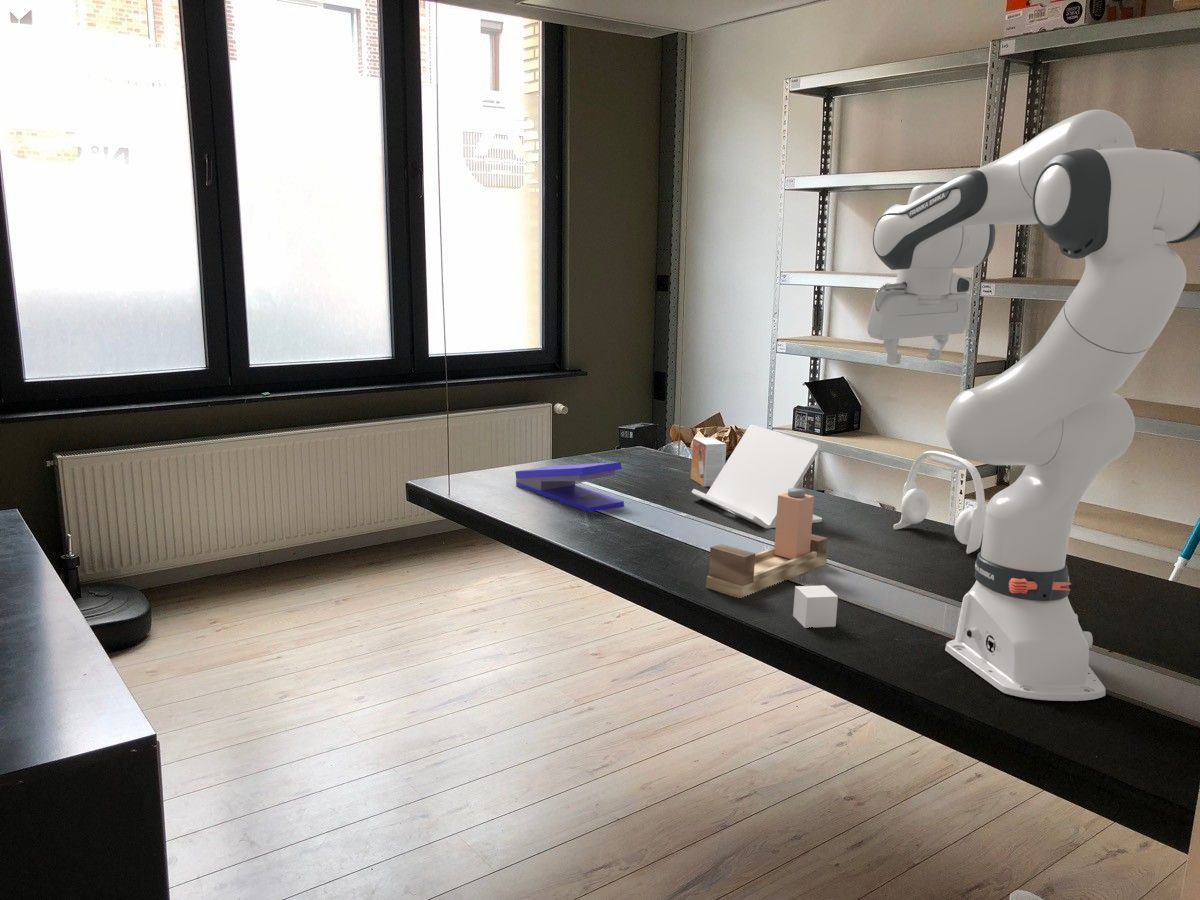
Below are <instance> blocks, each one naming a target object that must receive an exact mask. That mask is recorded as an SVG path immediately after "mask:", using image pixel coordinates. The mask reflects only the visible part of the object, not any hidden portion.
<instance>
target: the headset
mask: <svg viewBox="0 0 1200 900" xmlns="http://www.w3.org/2000/svg"><path fill="white" fill-rule="evenodd" d="M927 458H928V459H929V460H930V461H932V462H935V463H939V464H943V465H946V466H950V467H952V468H955V469H957V470H961V471H965V470H967V471H968V472H969V473H970V476H971V477H972V481H973V484H974V485H973V486H974V489H975V500H976V503H975V504H976V506H975V507H972V506H970V507H967V508H965V509H964V510H962V511H961V512H960V514H959V515H958V516H957V518H956V519H955V522H954V523H955V524H954V528H953V529H954V535H955V538H956V539H957V541H958V542H959V543H960V544H962V545H966V549H965V550H966V551H965V552H966V554H967V555H968V554H971V553H973V552H975V551H977V550H978V549H980V547H981V545H982V538H983V530H984V521H985V513H986V507H987V505H986V501H985V499H986V497H985V490H984V484H983V481H982V476H981V475H980V472H979V471H978V468H977V467H976V466H975V465H974V464H973V463H971V462H970V460H967V459H963V458H961V457H960V456H958V455H955V454H950V453H946V452H943V451H939V450H928V451H924V452H923V453H921V454H919V455H918V456H917V457H916V459H915V460H914V461H913V463H912V466H911V468H910V470H909V473H908V476H907V479H906V481H905V483H904V485H903V489H902V500H901V506H900V511H901V516H900V521H899V522H898V523H895V524H893V530H899V529H904V528H906V527H908V526H910V525H913V524H920V523H922V522H923V520H925V518H926V517H927V515H928V513H929V509H930V498H929V495H928V494H927V493H926V491H925V490H924V489H921V488H919V487H917V484H916V483H915V481H916V477H917V474H918V471H919V469H920V466H921V464H922V463H923V462H924V460H925V459H927Z"/></svg>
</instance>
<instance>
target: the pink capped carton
mask: <svg viewBox="0 0 1200 900" xmlns="http://www.w3.org/2000/svg"><path fill="white" fill-rule="evenodd" d="M814 504H815V495H810V494H808V493H807V494H806V490H805V489H802V488H798V487H797V488H790V489H788V493H784V494H781V495H778V503H777V517H776V527H775V535H774V554H775V555H779V556H782V557H786V558H789V559H794V558H797V557H799V556H802V555H805V554H807V553H810V544H811V534H812V530H813V529H812V527H813V523H812V518H813V515H814Z"/></svg>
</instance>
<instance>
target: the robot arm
mask: <svg viewBox="0 0 1200 900" xmlns="http://www.w3.org/2000/svg"><path fill="white" fill-rule="evenodd" d="M1134 136H1135V135H1134V133H1133V131H1132V129H1131V127H1130V125H1129V124H1128V123H1127V122H1126V120H1125V119H1123V118H1122V117H1121V116H1120V115H1118V114H1117V113H1115V112H1112V111H1109V110H1107V109H1090V110H1085V111H1083V112H1079V113H1077V114H1075V115H1073V116H1070V117H1068V118H1065V119H1063V120H1061V121H1060V122H1058V123H1056V124H1054V125H1052V126H1050V127H1048V128H1046V129H1045V130H1043V131H1042V132H1040V133H1039V134H1038V135H1036V136H1034V137H1033V138H1032V139H1030V140H1028V141H1027V142H1026V143H1024V144H1022V145H1021V146H1019V147H1018V148H1015V149H1014V150H1013V151H1010V152H1009V153H1006V154H1005V155H1003V156H1002V157H999V158H998V159H996V160H993V161H992V162H989V163H987V164H985V165H983V166H980V167H979V168H976V169H975V170H972V171H970V172H967V173H965V174H962V175H960V176H958V177H956V178H953V179H952V180H949V181H948V182H945V181H940V182H939V181H937V182H936V181H934V182H926V183H921V184H918V185H916V186H914V187H913V188H912V189H911V192H910V194H909V197H908V201H907V204H903V203H901V204H900V203H895V204H894V203H893V205H891V206H890V207H889V208H887V209H886V210H885V212H883V213H882V214H881V216H880V217H879V218H878V220H877V222H876V224H875V225H874V230H873V233H872V234H873V235H872V247H873V250H874V252H875V254H876V256H877V257H878V259H879V260H880V261H881V262H882V263H883V264H884V265H885V266H886V267H888V269H890V270H892V271H897V274H896V281H895V283H889V282H888V283H887V282H886V283H884V284H882V286H880V288H878V290H876V291H875V294H874V300H873V302H872V305H871V309H870V313H869V317H868V318H869V319H868V324H867V334H868V336H869V337H870V338H872V339H876V340H880V341H883V347H884V348H885V351H886V354H887V356H886V363H887V364H889V365H894V366H895V365H899V364H901V359H902V354H901V353H899V352H898V350H897V346H898V345H899V342H900V339H912V338H914V339H915V338H924V337H933V340H934V341H933V343H932V346H931V348H927V353H926V354H927V355H926V359H927V360H929V361H933V362H934V361H939V360H941V357H942V351H943V349H944V348H945V347H946V344H947V343H948V341H949V336H950V335H958V334H963V332H964V331H965V330H966V329H967V327H968V323H969V316H970V310H971V297H970V295H969V293H971V292H972V290H973V285H974V282H973V280H972V279H970V278H968V277H965V276H962V275H960V274H958V273H956V272H954V269H970V268H974V267H975V268H977V267H978V266H980V265H982V264H983V263H984V262H985V261H986V260H987V259H988V257H989V256H990V254H991V253H992V251H993V248H994V246H995V240H996V225H1012V226H1013V225H1015V226H1016V225H1017V226H1018V225H1019V226H1020V225H1026V226H1027V225H1039V226H1040V227H1041V229H1042V231H1043V232H1044V234H1045V235H1046V236H1047V237H1048V239H1050V240H1051V241H1053V243H1055V244H1057V245H1058V248H1059V250H1060V253H1061V254H1062V256H1065V257H1067V258H1070V259H1072V260H1078V259H1079V260H1080V259H1083V258H1084V260H1085V261H1084V262H1085V263H1084V264H1085V265H1084V267H1085V268H1084V271H1083V274H1082V276H1081V278H1080V280H1079V282H1078V283H1077V285H1076V286H1075V288H1074V289H1073V291H1072V292H1071V294H1070V295H1069V296H1068V298H1067V299H1066V302H1065V303H1064V305H1063V306H1062V307H1061V309H1060V311H1059V312H1058V314H1057V316H1055V319H1053V321H1052V323H1051V325H1050V326H1049V327H1048V329H1047V330H1046V332H1045V334H1043V336H1042V338H1041V339H1039V340H1040V341H1038V342H1037V344H1036V345H1035V346H1034V347H1033V348H1032V349H1031V350H1030V351H1029V352H1028V353H1027V354H1025V355H1024V356H1023V357H1022V358H1021V359H1019V360H1018V361H1017V362H1015V364H1013V365H1011V366H1010V367H1009V368H1008V369H1006V370H1004V371H1003V372H1002V373H1000V374H998V375H997V376H995V377H994V378H992V379H990V380H988V381H987V382H984V383H982V384H980V385H977V386H974V387H972V388H969V389H966V390H964V391H961V392H960V393H959V394H958V395H957V396H956V397H955V398H954V399H953V401H952V402H951V404H950V406H949V408H948V410H947V413H946V416H945V422H944V424H945V428H944V429H945V435H946V438H947V440H948V443H949V445H950V447H951V449H952V450H953V451H954V453H955V454H956V456H957V457H960V458H963V459H965V460H967V461H971V462H972V461H973V462H977V463H980V464H987V465H990V466H991V465H992V466H1025V467H1024V469H1023V471H1022V473H1021V474H1020V475H1019V476H1018V478H1017V479H1016V480H1015V481H1014V482H1013V483H1012V484H1011V485H1009V486H1007V487H1005V488H1004V489H1002V490H1000V491H998V492H996V493H995V494H994V495H993V496H992V497H991V498H990V500H989V501H988V503H987V505H986V513H985V521H984V530H983V535H982V540H981V546H980V547H981V548H980V549H981V550H980V551H979V552H978V553H977V557H976V560H975V564H974V578H975V580H976V581H975V583H974V584H973V586H972V587H971V588H970V590H968V591H967V592H966V593H965V595H964V596H963V597H962V602H961V608H960V611H959V618H958V623H957V627H956V631H955V638H954V639H952V640H948V641H947V642H946V643H945V649H944V650H945V652H947V653H948V654H950V656H952V657H953V658H955V659H956V660H957V661H959V662H961V663H962V664H963V665H965V666H966V667H967V668H968V669H970V670H971V671H973V672H974V673H975V674H976V675H978V676H980V677H981V678H982V679H984V681H986V682H988V683H989V684H990V685H992V686H993V687H994V688H996V689H997V690H999V691H1000V692H1002V693H1003V694H1006V695H1009V696H1012V697H1013V696H1015V697H1019V698H1024V699H1029V700H1031V699H1032V700H1040V701H1054V702H1055V701H1056V702H1057V701H1058V702H1059V701H1060V702H1061V701H1062V702H1079V701H1080V702H1081V701H1091V700H1096V699H1100V698H1103V697H1105V696H1106V687H1105V686H1104V684H1103V683H1102V682H1101V680H1100V679H1099V677H1098V676H1097V675H1096V674H1095V672H1094V671H1093V669H1092V668H1091V666H1090V665H1089V664H1090V663H1089V661H1090V649H1091V648H1092V646H1093V642H1094V641H1093V640H1094V639H1093V638H1094V637H1093V635H1092V632H1090V631H1085V630H1083V629H1082V627H1081V625H1080V623H1079V616H1078V614H1077V613H1075V611H1074V609H1073V607H1072V604H1071V603H1070V599H1069V597H1068V596H1069V595H1070V591H1071V588H1070V585H1072V582H1070V575H1069V570H1068V568H1069V567H1068V565H1067V564H1066V559H1067V553H1068V546H1069V542H1070V541H1069V540H1070V536H1071V530H1072V526H1073V520H1074V516H1075V513H1076V510H1077V508H1078V506H1079V503H1080V501H1081V500H1082V497H1083V496H1084V495H1085V493H1086V491H1087V489H1088V488H1089V487H1090V485H1091V484H1092V483H1093V481H1094V480H1095V478H1096V477H1097V476H1098V475H1099V474H1100V473H1101V472H1102V471H1103V470H1104V469H1105V468H1107V466H1109V465H1110V464H1111V463H1113V462H1114V461H1116V460H1117V459H1119V458H1121V457H1122V456H1123V455H1124V454H1125V453H1126V452H1127V450H1128V448H1130V445H1131V443H1132V442H1133V440H1134V439H1133V438H1134V436H1135V431H1136V430H1135V429H1136V420H1135V415H1134V413H1133V410H1132V408H1131V406H1130V404H1129V403H1128V401H1127V400H1126V399H1125V398H1124V397H1123V396H1122V395H1120V394H1119V393H1116V391H1118V390H1119V389H1120V388H1121V387H1122V386H1123V385H1124V383H1125V382H1127V379H1128V378H1129V377H1130V375H1131V374H1132V373H1133V371H1134V370H1135V368H1137V366H1138V364H1139V363H1140V362H1141V361H1142V359H1143V358H1144V356H1145V355H1146V353H1147V352H1148V351H1149V350H1150V349H1151V347H1152V346H1153V344H1155V342H1156V340H1157V339H1158V337H1159V336H1160V334H1161V333H1162V331H1163V330H1164V328H1165V326H1166V325H1167V323H1168V322H1169V320H1170V318H1171V316H1172V314H1173V312H1174V310H1175V308H1176V307H1177V304H1178V303H1179V300H1180V298H1181V295H1182V292H1183V290H1184V289H1185V286H1186V283H1187V269H1186V265H1185V263H1184V261H1183V259H1182V258H1181V257H1180V255H1178V253H1177V252H1176V251H1175V250H1173V248H1171V247H1169V246H1168V244H1181V243H1184V242H1188V241H1194V240H1197V239H1199V238H1200V153H1197V152H1196V151H1195V152H1194V151H1190V150H1184V149H1176V148H1171V147H1170V148H1169V147H1162V148H1160V149H1153V148H1152V149H1151V148H1143V147H1137V145H1136V141H1135V137H1134ZM1069 252H1070V253H1069Z"/></svg>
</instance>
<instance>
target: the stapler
mask: <svg viewBox="0 0 1200 900" xmlns="http://www.w3.org/2000/svg"><path fill="white" fill-rule="evenodd" d="M622 469H623V468H622V462H621V461H615V462H611V461H610V462H599V463H597V462H595V463H581V464H580V463H579V464H562V465H550V466H542V467H535V468H530V469H522V470H518V471H517V470H516V471H515V472H514V473H515V486H516V487H519V488H521V489H524V490H526V491H529V492H532V493H535V494H538V495H541V496H544V497H546V498H549V499H552V500H554V501H557V502H560V503H563V504H565V505H568V506H571V507H573V508H577V509H579V510H581V511H585V512H587V513H591V512H597V511H601V510H606V509H607V510H608V509H613V508H619V507H623V506H624V505H625V501H624V500H621V499H618V498H615V497H613V496H609V495H607V494H603V493H600V492H598V491H594V490H592V489H588V488H585V487H584V486H583V487H582V486H579V485H576V482H583V481H587V480H593V479H601V478H606V477H613V476H616V472H615V471H619V470H622Z"/></svg>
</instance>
